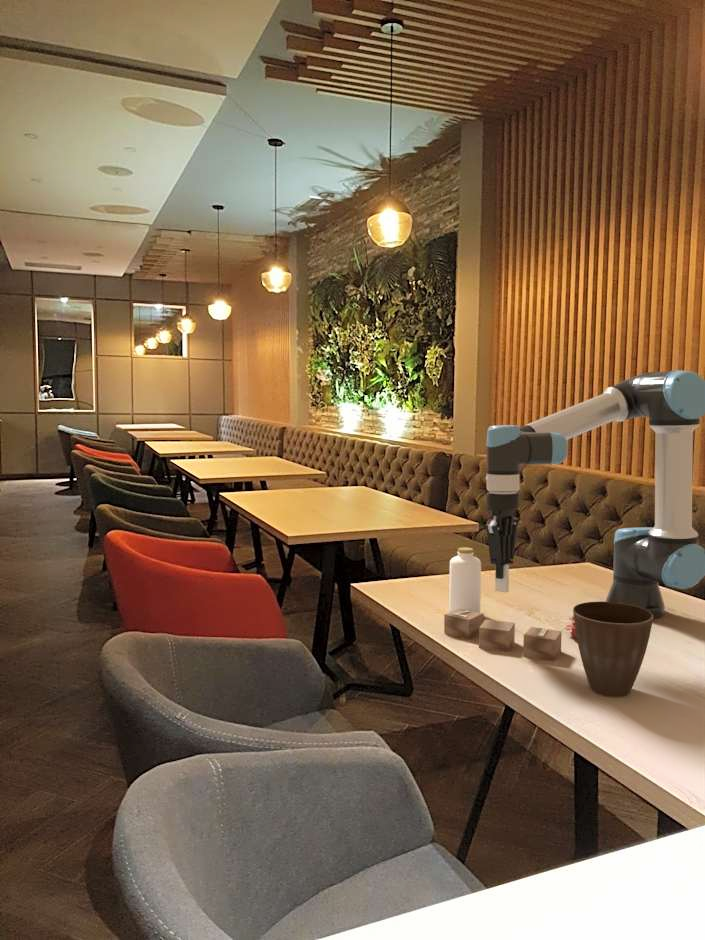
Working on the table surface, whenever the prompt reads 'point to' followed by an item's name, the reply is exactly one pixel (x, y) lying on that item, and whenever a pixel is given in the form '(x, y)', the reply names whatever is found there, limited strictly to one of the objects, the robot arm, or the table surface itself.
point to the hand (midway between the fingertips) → (501, 591)
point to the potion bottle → (465, 581)
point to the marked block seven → (463, 623)
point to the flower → (572, 627)
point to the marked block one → (542, 643)
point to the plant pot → (612, 644)
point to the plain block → (496, 635)
